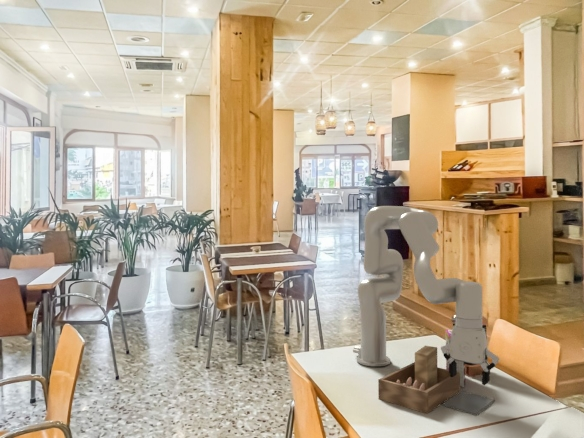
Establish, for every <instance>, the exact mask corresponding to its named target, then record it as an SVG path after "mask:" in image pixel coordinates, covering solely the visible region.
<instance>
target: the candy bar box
mask: <svg viewBox="0 0 584 438" xmlns="http://www.w3.org/2000/svg"><path fill="white" fill-rule="evenodd" d="M444 332H445V345H448V344H450V340H451V333H452V329H445V331H444ZM447 351H448V353H449V354H450V349H447ZM455 362H456V363H457V372H460V388H466V379H465V378H466V375H465V362H462V361H458V360H455ZM445 369H447V370H449V363H448V362H447V360H446V359H445Z"/></svg>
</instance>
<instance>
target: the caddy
mask: <svg viewBox="0 0 584 438" xmlns="http://www.w3.org/2000/svg"><path fill="white" fill-rule="evenodd" d="M409 377H411V378H412V382H411V384H412V383H413V384H414V382H415V361H414V362H412V363H410V364H408V365H405V366H403V367H401V368H399V369H398V370H395V371H393V372H391V373H389V374H387V375H385V376H382V377H380V378H379V379H378V382H377V383H378V386H377V387H378V389H377V390H378V400H380V401H384V402H388V403H392V404H395V405H397V406H401V407H404V408H407V409H410V410H414V411H417V412H419V413H423V414H427V415H428V413H430V412H431V411H433V410H435V409H436V408H438V407H439V406H440V405H443V404H444V403H445V402H446V401H448V400H449V399H451V398H452V397H454V396H455V395H457V394H458V393H460V392H461V387H460V372H457V375H455V376H454V377H450V373H449V370H447V369H446V368H442V367H438V366H437V384H436V385H434V386H432V387H431V388H429V389H427V390H426V391H424V390H420V389H416V388H413V387H411V386H408V385H407V386H405V385H402V384H403V383H405V384H406V382H407V380H408V378H409ZM397 380H400V384H398V383H396V381H397ZM401 383H402V384H401Z"/></svg>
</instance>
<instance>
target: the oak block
mask: <svg viewBox="0 0 584 438" xmlns="http://www.w3.org/2000/svg"><path fill="white" fill-rule="evenodd" d="M414 362H415V380H417V381H418V387H417V389H420V386H421V385H422V383H424V384H425V390H424V391H426V390H427V389H429V388H431V387H432V386H434V385H436V384H437V367H438V347H437V346H430V345H424V346H422V347H421V348H420V349H418V350H417V351H415V352H414Z"/></svg>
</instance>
